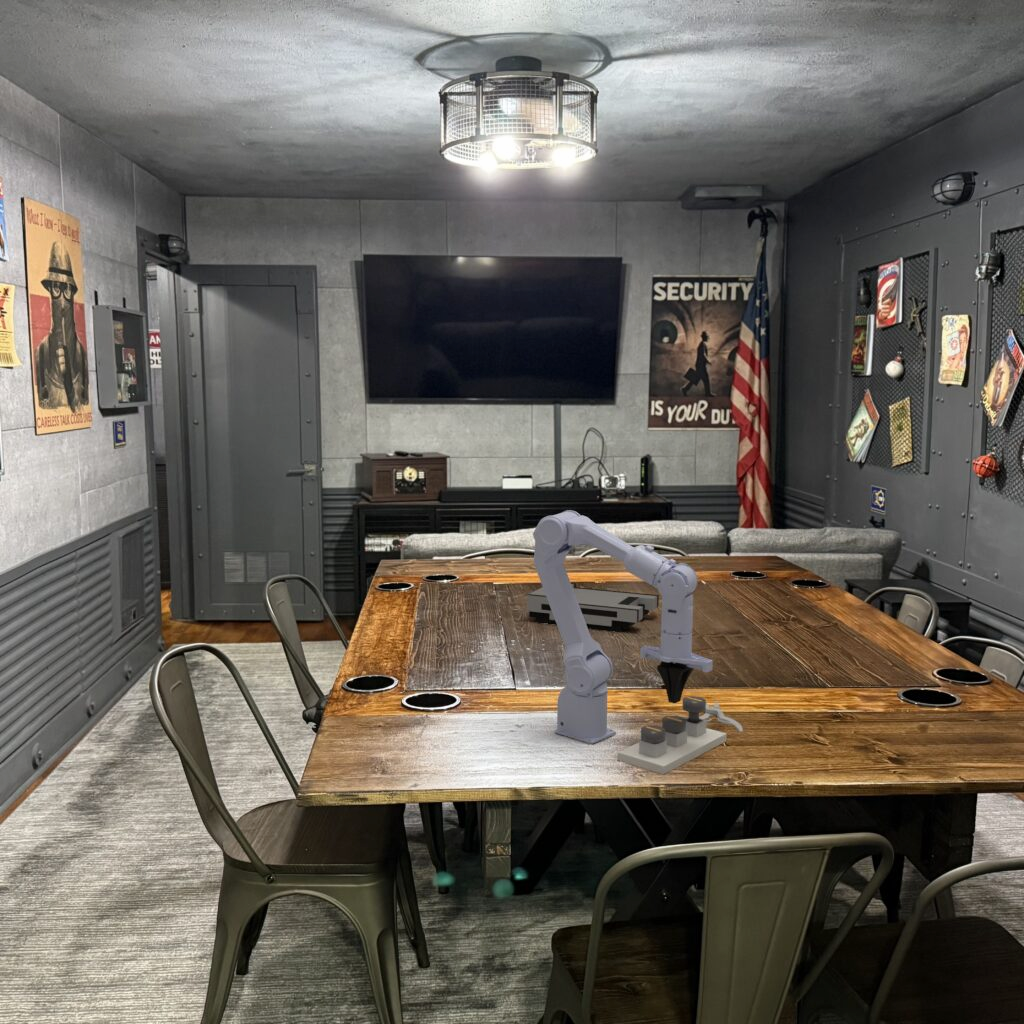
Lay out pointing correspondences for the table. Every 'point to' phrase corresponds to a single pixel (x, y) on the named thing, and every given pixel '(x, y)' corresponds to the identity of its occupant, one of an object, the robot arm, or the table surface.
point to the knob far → (694, 707)
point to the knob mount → (673, 748)
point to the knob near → (653, 734)
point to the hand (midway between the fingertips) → (674, 701)
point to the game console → (598, 607)
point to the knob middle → (674, 724)
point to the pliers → (720, 716)
